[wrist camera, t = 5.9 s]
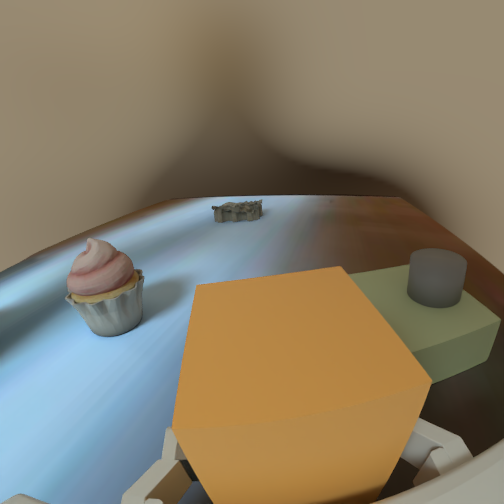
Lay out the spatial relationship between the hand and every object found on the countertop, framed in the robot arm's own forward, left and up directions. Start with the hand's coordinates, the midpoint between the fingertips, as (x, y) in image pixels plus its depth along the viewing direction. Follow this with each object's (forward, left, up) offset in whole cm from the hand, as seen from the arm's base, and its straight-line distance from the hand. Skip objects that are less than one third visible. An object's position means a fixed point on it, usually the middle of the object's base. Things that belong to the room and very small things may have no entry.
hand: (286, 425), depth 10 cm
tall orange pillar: (+1, 0, -7) cm, 7 cm away
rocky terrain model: (-51, +33, -7) cm, 61 cm away
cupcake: (-26, -2, -7) cm, 27 cm away
